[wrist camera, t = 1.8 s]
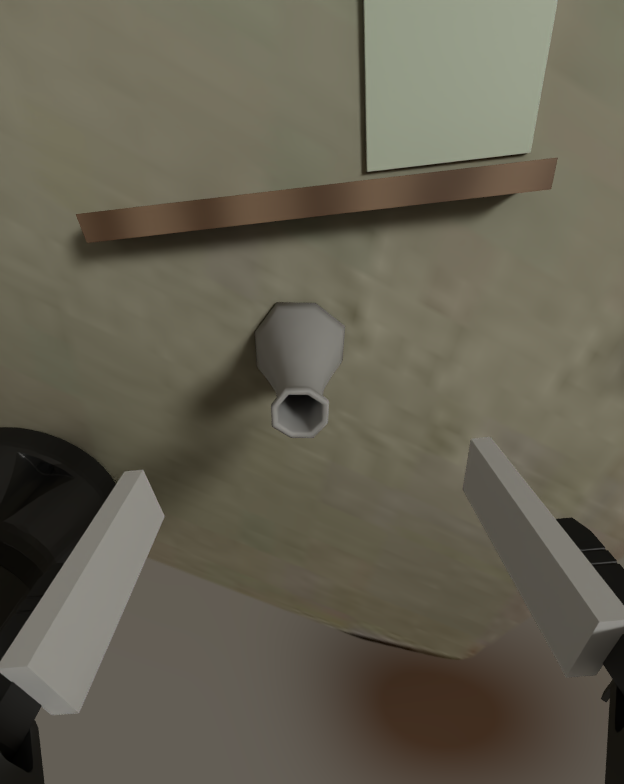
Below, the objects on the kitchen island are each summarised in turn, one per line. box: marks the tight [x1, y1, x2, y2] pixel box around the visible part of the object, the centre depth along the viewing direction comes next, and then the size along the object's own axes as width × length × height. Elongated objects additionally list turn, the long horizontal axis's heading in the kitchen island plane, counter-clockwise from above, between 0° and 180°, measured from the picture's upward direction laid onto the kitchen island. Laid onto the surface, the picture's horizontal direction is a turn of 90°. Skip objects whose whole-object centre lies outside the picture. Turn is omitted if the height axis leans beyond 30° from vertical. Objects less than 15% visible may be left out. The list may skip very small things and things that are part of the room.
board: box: [363, 0, 558, 172], centre depth 19 cm, size 10×9×1 cm
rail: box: [76, 158, 558, 243], centre depth 21 cm, size 27×2×3 cm, turn 96°
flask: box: [255, 302, 345, 438], centre depth 22 cm, size 7×7×10 cm
